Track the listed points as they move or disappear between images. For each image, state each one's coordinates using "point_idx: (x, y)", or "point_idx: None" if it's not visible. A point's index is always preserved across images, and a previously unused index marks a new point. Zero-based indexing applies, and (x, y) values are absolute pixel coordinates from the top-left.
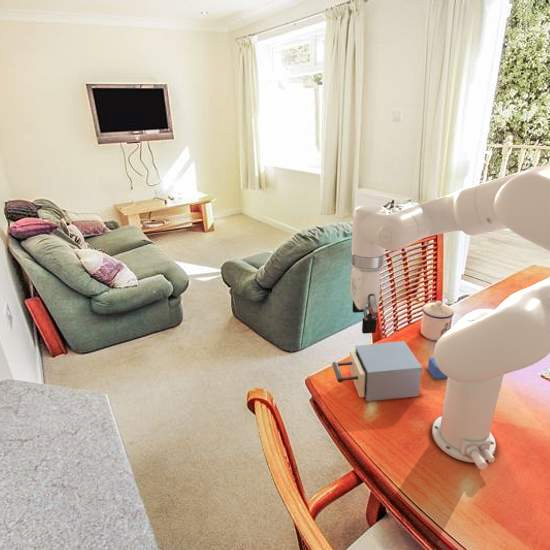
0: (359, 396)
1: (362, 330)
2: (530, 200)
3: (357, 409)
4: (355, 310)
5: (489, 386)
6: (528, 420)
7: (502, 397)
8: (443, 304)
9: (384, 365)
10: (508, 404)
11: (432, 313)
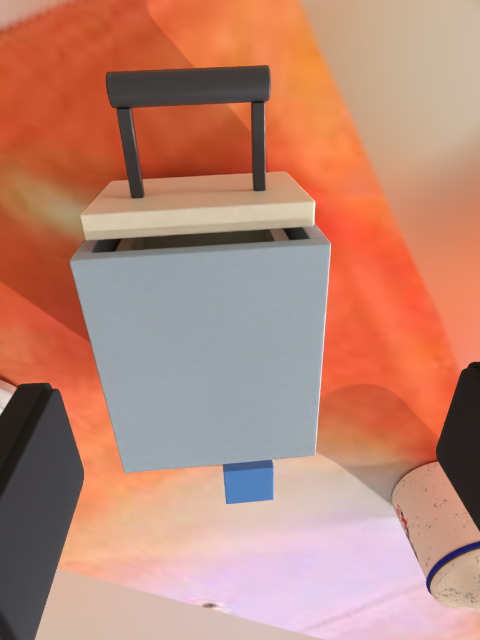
0: (112, 181)
1: (9, 404)
2: None
3: (57, 156)
4: (473, 400)
5: None
6: (67, 551)
7: (141, 536)
8: None
9: (135, 348)
10: (117, 538)
11: (463, 566)
